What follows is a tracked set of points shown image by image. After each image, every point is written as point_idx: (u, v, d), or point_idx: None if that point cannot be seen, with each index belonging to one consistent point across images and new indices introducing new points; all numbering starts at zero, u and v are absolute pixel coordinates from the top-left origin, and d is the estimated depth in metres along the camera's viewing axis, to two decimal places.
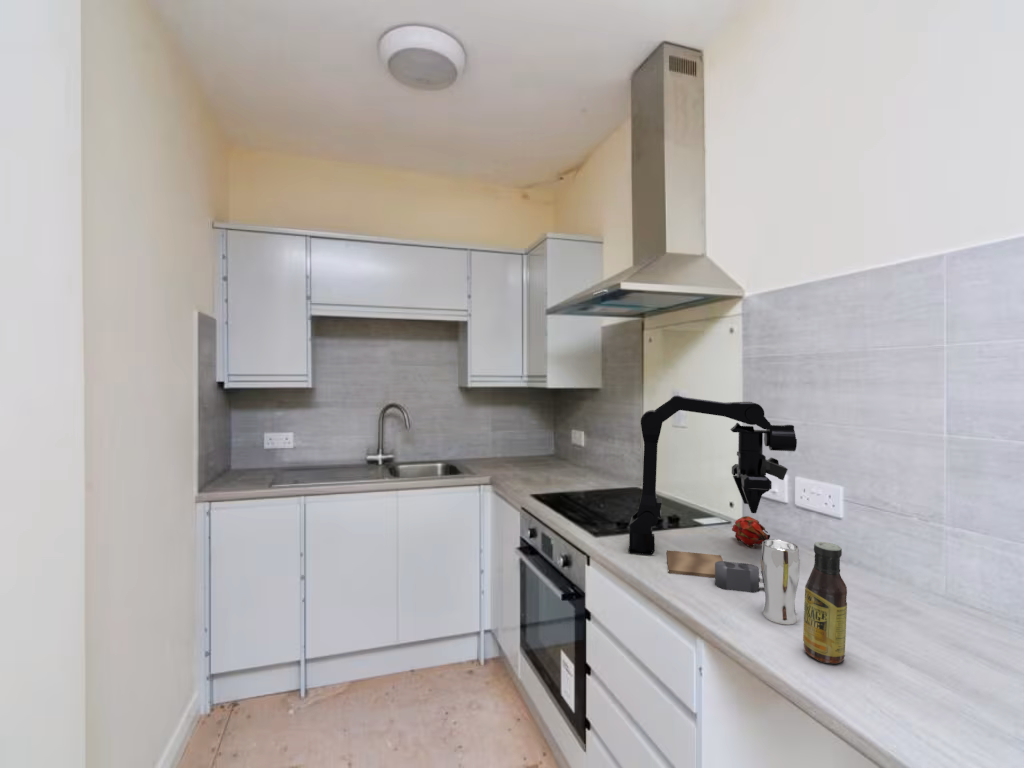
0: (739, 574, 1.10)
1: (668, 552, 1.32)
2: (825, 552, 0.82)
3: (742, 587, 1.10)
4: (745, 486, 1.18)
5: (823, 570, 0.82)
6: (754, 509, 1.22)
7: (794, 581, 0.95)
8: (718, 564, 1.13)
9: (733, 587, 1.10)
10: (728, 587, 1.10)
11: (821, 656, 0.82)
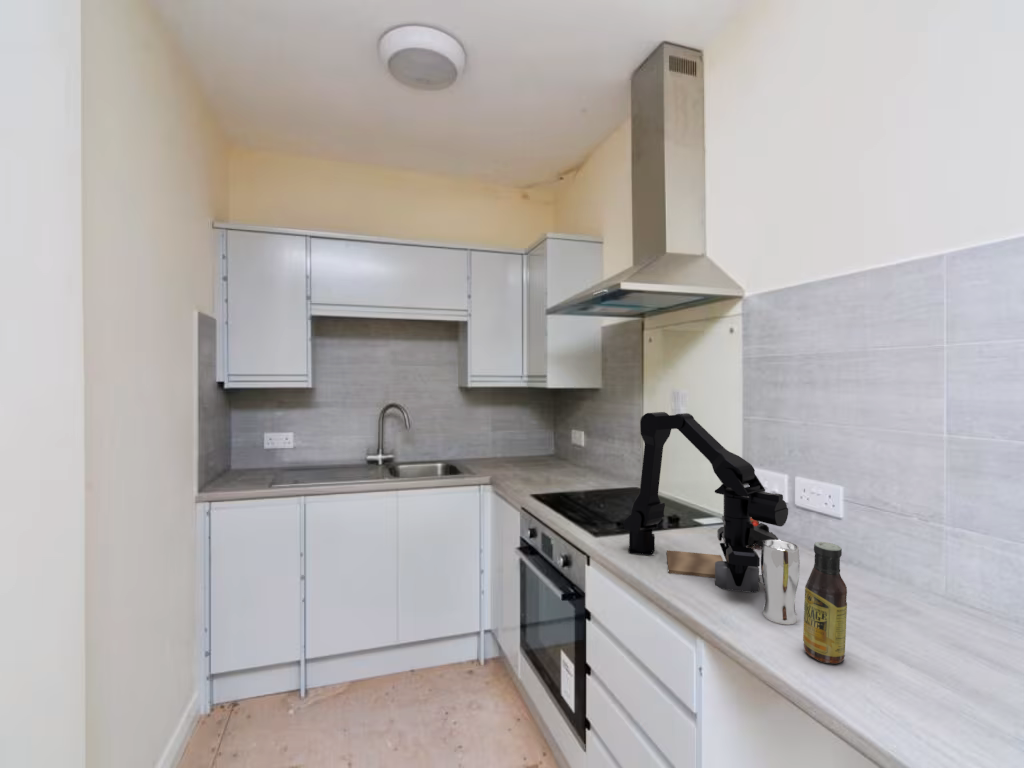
0: None
1: (668, 552, 1.32)
2: (825, 552, 0.82)
3: (742, 587, 1.10)
4: (730, 562, 1.04)
5: (823, 570, 0.82)
6: (739, 582, 1.09)
7: (794, 581, 0.95)
8: (718, 564, 1.13)
9: (733, 587, 1.10)
10: (728, 587, 1.10)
11: (821, 656, 0.82)
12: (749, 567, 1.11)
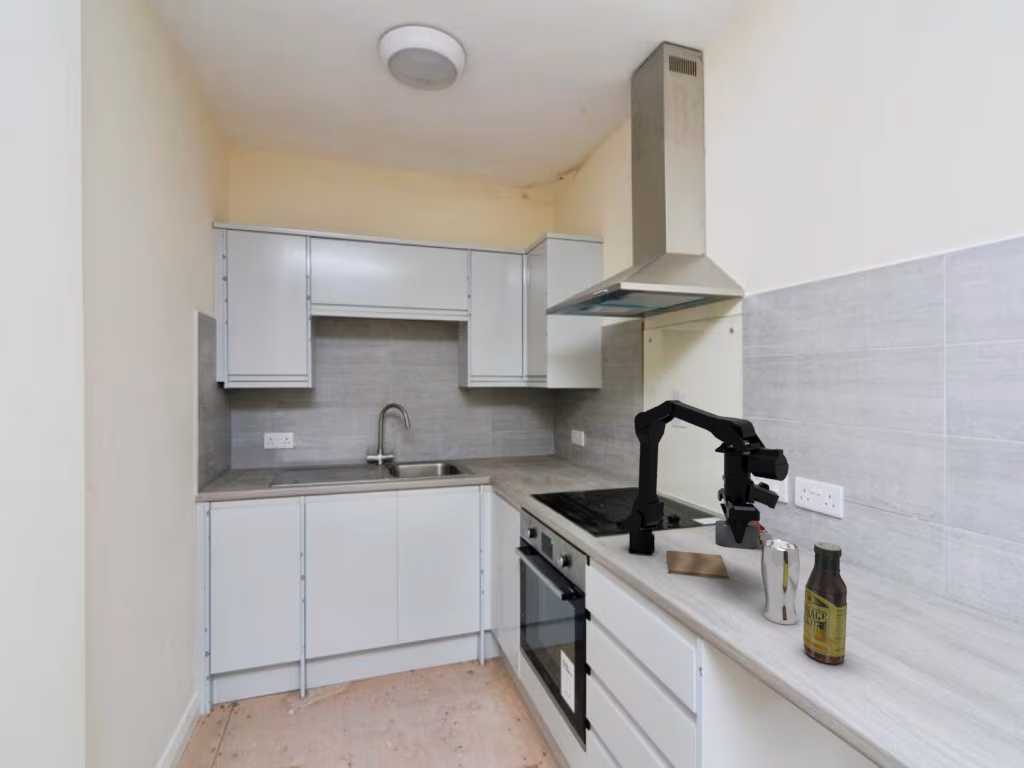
0: None
1: (668, 552, 1.32)
2: (825, 552, 0.82)
3: (742, 544, 1.09)
4: (730, 517, 1.04)
5: (823, 570, 0.82)
6: (739, 539, 1.09)
7: (794, 581, 0.95)
8: (718, 522, 1.13)
9: (733, 544, 1.10)
10: (728, 545, 1.10)
11: (821, 656, 0.82)
12: (749, 525, 1.11)
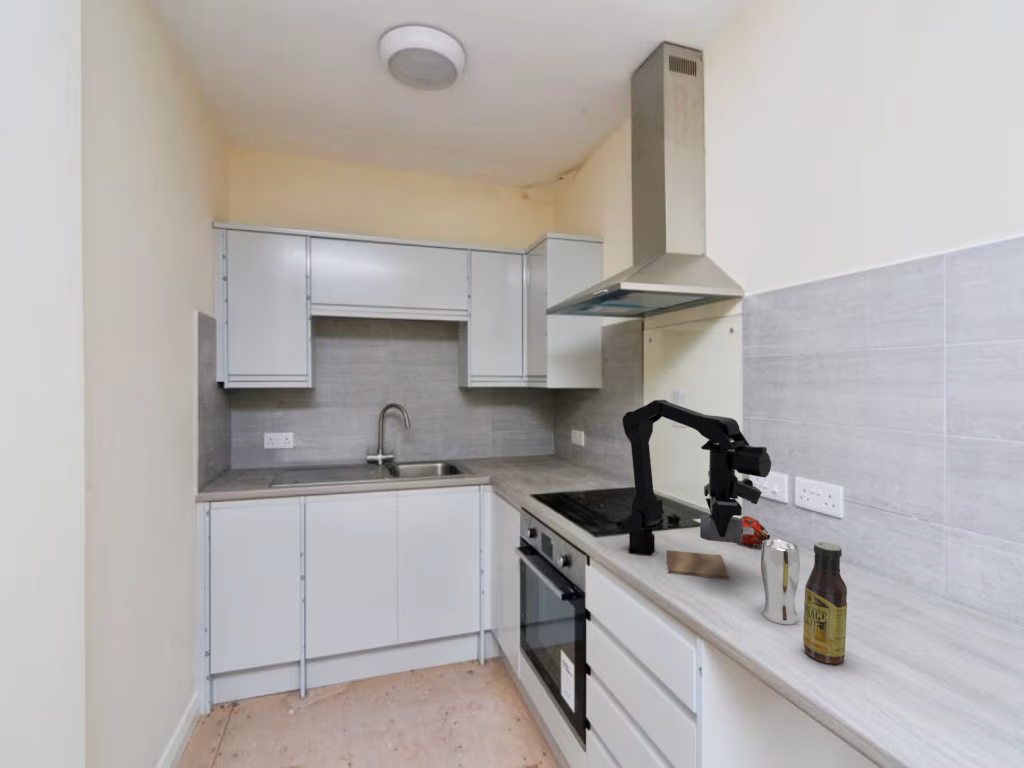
0: None
1: (668, 552, 1.32)
2: (825, 552, 0.82)
3: (726, 538, 1.14)
4: (713, 511, 1.08)
5: (823, 570, 0.82)
6: (722, 533, 1.14)
7: (794, 581, 0.95)
8: (703, 517, 1.17)
9: (717, 538, 1.15)
10: (712, 538, 1.15)
11: (821, 656, 0.82)
12: (733, 519, 1.15)
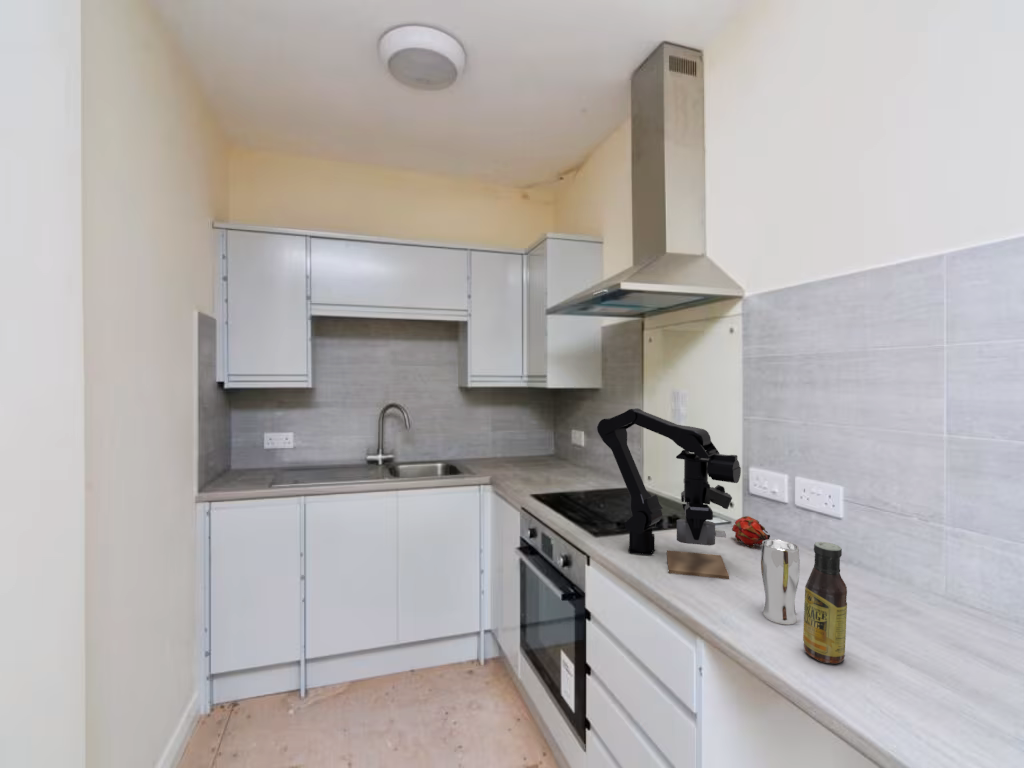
0: None
1: (668, 552, 1.32)
2: (825, 552, 0.82)
3: (700, 540, 1.22)
4: (687, 516, 1.17)
5: (823, 570, 0.82)
6: (697, 536, 1.22)
7: (794, 581, 0.95)
8: (679, 521, 1.25)
9: (692, 541, 1.23)
10: (687, 541, 1.23)
11: (821, 656, 0.82)
12: (706, 523, 1.24)
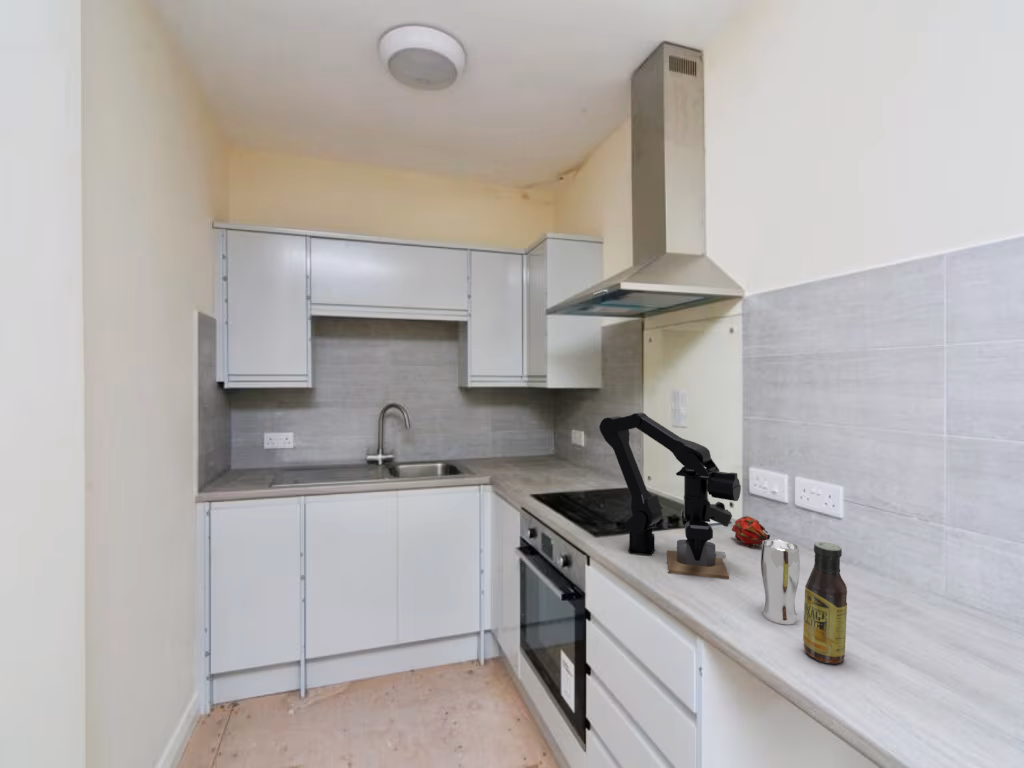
0: None
1: (668, 552, 1.32)
2: (825, 552, 0.82)
3: (700, 562, 1.22)
4: (687, 534, 1.17)
5: (823, 570, 0.82)
6: (698, 556, 1.20)
7: (794, 581, 0.95)
8: (679, 542, 1.26)
9: (692, 562, 1.23)
10: (688, 562, 1.23)
11: (821, 656, 0.82)
12: (706, 544, 1.24)
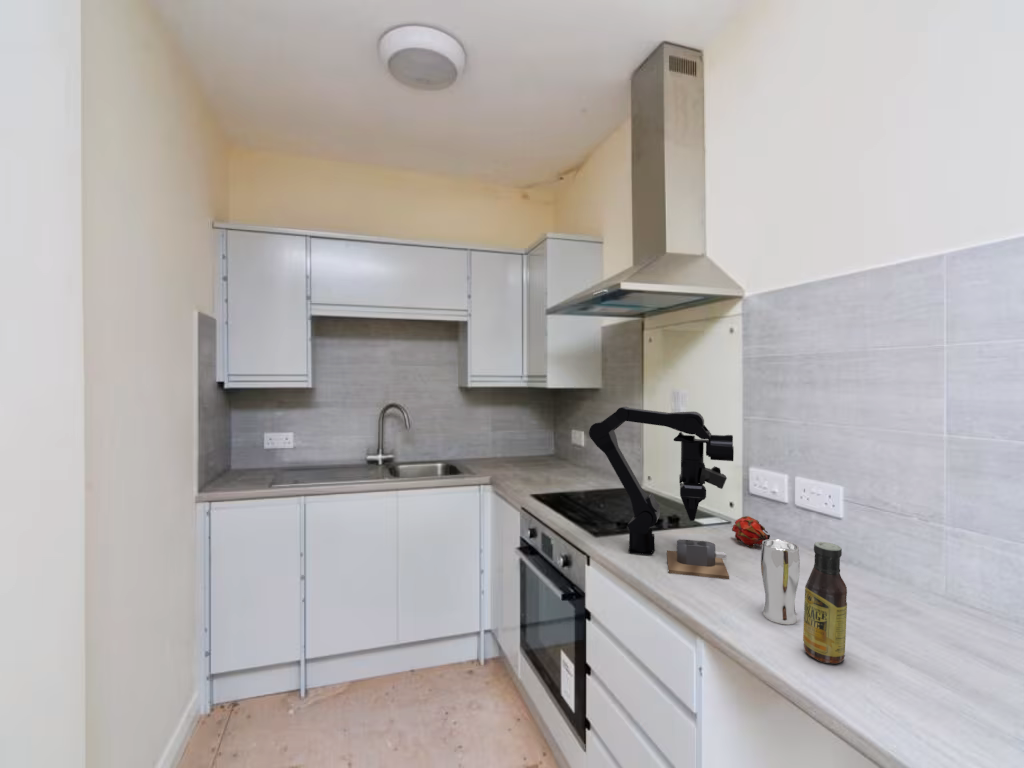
0: (697, 550, 1.23)
1: (668, 552, 1.32)
2: (825, 552, 0.82)
3: (700, 562, 1.22)
4: (681, 494, 1.22)
5: (823, 570, 0.82)
6: (692, 517, 1.25)
7: (794, 581, 0.95)
8: (679, 542, 1.26)
9: (692, 562, 1.23)
10: (688, 562, 1.23)
11: (821, 656, 0.82)
12: (706, 544, 1.24)
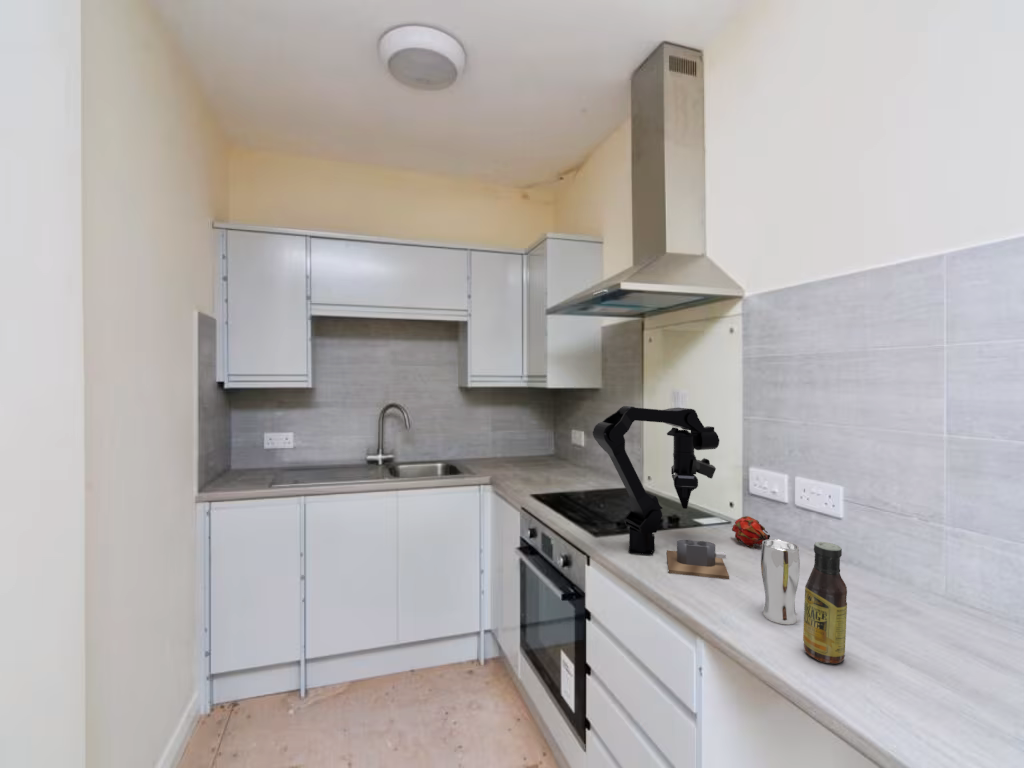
0: (697, 550, 1.23)
1: (668, 552, 1.32)
2: (825, 552, 0.82)
3: (700, 562, 1.22)
4: (675, 484, 1.31)
5: (823, 570, 0.82)
6: (685, 505, 1.35)
7: (794, 581, 0.95)
8: (679, 542, 1.26)
9: (692, 562, 1.23)
10: (688, 562, 1.23)
11: (821, 656, 0.82)
12: (706, 544, 1.24)
